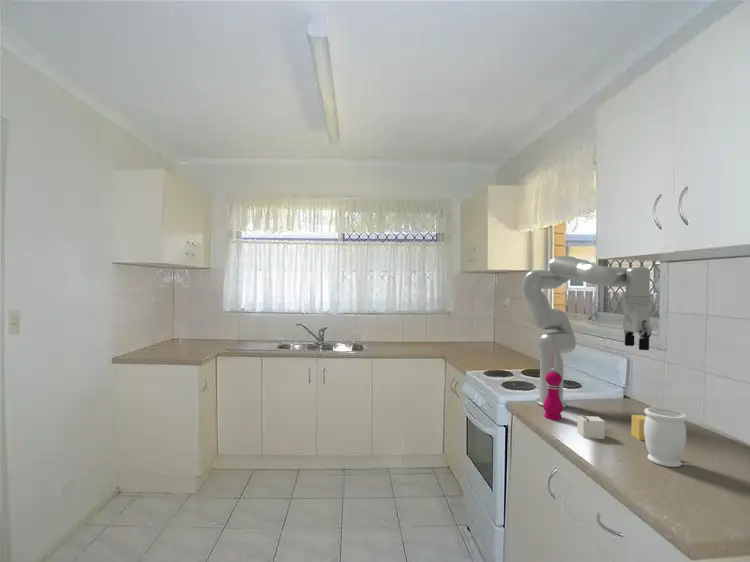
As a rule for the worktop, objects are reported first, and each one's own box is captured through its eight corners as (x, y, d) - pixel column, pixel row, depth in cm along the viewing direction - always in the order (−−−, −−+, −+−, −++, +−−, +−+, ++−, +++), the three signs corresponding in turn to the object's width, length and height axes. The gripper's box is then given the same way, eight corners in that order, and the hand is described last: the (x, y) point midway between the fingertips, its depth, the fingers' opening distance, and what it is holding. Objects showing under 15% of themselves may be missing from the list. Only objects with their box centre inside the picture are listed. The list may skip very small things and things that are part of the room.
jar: (637, 459, 130) (638, 410, 130) (651, 452, 136) (652, 405, 136) (678, 472, 122) (679, 420, 122) (690, 463, 128) (691, 413, 128)
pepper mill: (560, 423, 163) (561, 370, 163) (540, 419, 168) (541, 368, 168) (564, 418, 169) (565, 367, 169) (545, 414, 173) (546, 365, 173)
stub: (631, 434, 150) (631, 414, 150) (643, 435, 150) (643, 415, 150) (639, 440, 145) (639, 419, 145) (651, 440, 145) (651, 419, 145)
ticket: (577, 432, 152) (577, 414, 152) (597, 433, 151) (598, 415, 151) (583, 438, 147) (583, 419, 147) (604, 438, 146) (604, 419, 146)
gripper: (615, 299, 165) (614, 344, 165) (639, 302, 148) (638, 351, 148) (635, 300, 165) (634, 344, 165) (662, 302, 148) (661, 352, 148)
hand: (636, 347), depth 156 cm, fingers open, 9 cm apart
